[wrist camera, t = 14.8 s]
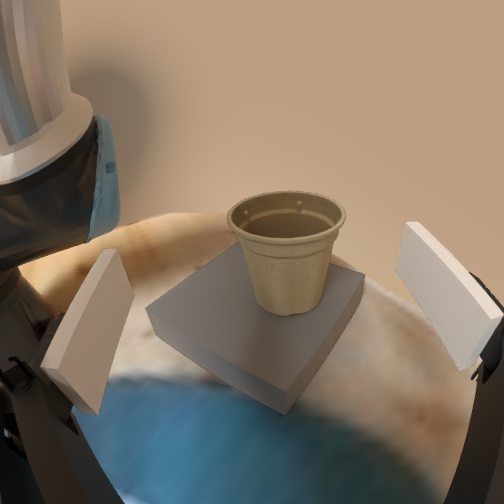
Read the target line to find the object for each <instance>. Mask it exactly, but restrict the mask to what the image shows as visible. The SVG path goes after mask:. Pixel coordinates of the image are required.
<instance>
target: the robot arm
mask: <svg viewBox="0 0 504 504" xmlns="http://www.w3.org/2000/svg"><path fill="white" fill-rule="evenodd" d="M63 44H64V43H63V34H62V23H61V11H60V0H0V504H125V503H124V502H123V500H122V499H121V498H120V496H119V495H118V493H117V492H116V490H115V489H114V487H113V486H112V484H111V482H110V481H109V479H108V478H107V476H106V474H105V473H104V471H103V469H102V468H101V466H100V464H99V463H98V461H97V459H96V457H95V455H94V454H93V452H92V450H91V448H90V446H89V444H88V442H87V440H86V439H85V437H84V435H83V433H82V430H81V428H80V426H79V424H78V422H77V420H76V418H75V416H74V415H73V413H72V412H71V410H72V406H73V405H74V406H75V407H76V408H77V409H78V410H79V411H80V412H81V413H87V414H93V415H98V413H99V409H100V405H101V401H102V398H103V394H104V390H105V386H106V383H107V379H108V376H109V372H110V369H111V365H112V362H113V359H114V355H115V352H116V349H117V346H118V343H119V340H120V337H121V333H122V330H123V327H124V324H125V322H126V319H127V316H128V313H129V310H130V307H131V304H132V302H133V299H134V293H133V290H132V288H131V285H130V282H129V280H128V277H127V274H126V271H125V268H124V266H123V263H122V260H121V257H120V254H119V251H118V248H113V249H104V250H103V251H102V252H101V254H100V255H99V257H98V259H97V260H96V262H95V263H94V265H93V267H92V268H91V270H90V272H89V273H88V275H87V277H86V278H85V280H84V282H83V283H82V285H81V287H80V289H79V290H78V292H77V294H76V296H75V297H74V299H73V301H72V303H71V305H70V306H69V308H68V310H67V312H66V313H61V314H60V315H59V316H58V317H57V315H56V313H55V311H54V309H53V308H52V306H51V305H50V303H49V302H48V301H47V300H46V299H45V298H44V297H43V296H42V295H41V294H40V293H39V292H38V291H37V290H36V289H35V288H34V287H33V286H32V285H31V284H30V283H29V282H28V281H27V280H26V279H25V278H24V277H23V276H22V274H21V272H20V270H19V268H18V266H20V265H23V264H25V263H28V262H31V261H34V260H36V259H39V258H42V257H45V256H48V255H51V254H53V253H56V252H59V251H62V250H65V249H68V248H71V247H74V246H77V245H80V244H83V243H85V244H86V243H88V242H90V241H91V239H94V238H96V237H99V236H101V235H104V234H106V233H109V232H111V231H112V230H114V229H115V227H116V226H117V225H118V222H119V220H120V195H119V183H118V175H117V169H116V160H115V146H114V138H113V131H112V125H111V121H110V119H109V117H107V116H98V115H96V116H95V117H94V116H93V110H92V106H91V104H90V103H89V101H88V100H87V99H86V98H84V97H82V96H80V95H77V94H75V93H72V92H71V89H70V83H69V78H68V72H67V65H66V59H65V51H64V45H63ZM395 271H396V273H397V274H398V275H399V277H400V278H401V280H402V281H403V283H404V284H405V285H406V287H407V288H408V290H409V291H410V293H411V294H412V296H413V297H414V298H415V300H416V301H417V303H418V304H419V306H420V308H421V309H422V311H423V312H424V314H425V315H426V317H427V318H428V320H429V321H430V323H431V325H432V326H433V328H434V329H435V331H436V333H437V334H438V336H439V337H440V339H441V341H442V342H443V344H444V346H445V347H446V349H447V351H448V353H449V354H450V356H451V358H452V359H453V361H454V363H455V365H456V367H457V368H458V370H459V371H461V370H464V369H466V368H469V367H471V366H473V364H474V363H475V361H476V360H477V359H478V357H479V356H480V357H481V359H482V360H483V361H482V362H481V364H480V365H479V367H478V368H477V370H476V371H475V372H474V374H473V375H472V377H471V380H473V379H474V378H475V377H476V375H477V374H478V378H477V380H476V381H477V387H476V393H475V399H474V404H473V409H472V414H471V419H470V423H469V427H468V432H467V436H466V439H465V443H464V447H463V450H462V454H461V457H460V460H459V463H458V466H457V469H456V472H455V475H454V478H453V481H452V483H451V486H450V489H449V491H448V494H447V496H446V499H445V501H444V503H443V504H504V307H503V306H502V305H501V304H500V302H499V301H498V300H497V299H496V298H495V296H494V295H493V294H491V292H490V291H489V289H488V288H486V287H485V285H484V284H483V282H482V281H481V280H480V279H479V278H478V277H476V276H475V275H473V274H472V273H470V272H468V271H467V270H466V269H465V268H464V267H463V266H462V265H461V264H460V263H459V262H458V261H457V260H456V259H455V257H454V256H453V255H452V254H451V253H450V252H449V251H448V250H447V249H446V248H445V247H444V246H443V245H442V244H441V243H440V242H439V241H438V240H437V239H435V237H434V236H433V235H432V234H430V233H429V232H428V231H427V230H426V229H425V228H424V227H423V226H422V225H421V224H420V223H419V222H405V226H404V232H403V237H402V242H401V246H400V251H399V256H398V260H397V264H396V268H395ZM4 429H5V430H7V431H8V437H6V436H5V435H4Z"/></svg>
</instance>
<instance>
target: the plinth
mask: <svg viewBox="0 0 504 504" xmlns="http://www.w3.org/2000/svg"><path fill="white" fill-rule="evenodd" d="M364 278H365V274H363V273H360V272H356V271H353V270H350V269H347V268H343V267H340V266H337V265H333V264H330V263H329V265H328V269H327V274H326V278H325V282H324V286H323V291H322V296H321V299H320V301H319V303H318V304H317V305H316V306H315V307H314V308H313V309H312V310H310V311H308V312H306V313H304V314H301V313H299V314H291V315H289V316H280V315H276V314H272V313H270V312H268V311H266V310H264V309H263V308H262V307H261V306H260V305H259V304H258V302H257V300H256V297H255V293H254V289H253V285H252V281H251V278H250V274H249V270H248V267H247V263H246V260H245V256H244V253H243V249H242V246H241V244H240V243H239V242H238V243H236V244H235V245H233V246H232V247H230V248H229V249H228V250H226V251H225V252H223V253H222V254H220V255H219V256H218V257H216V258H215V259H213V260H212V261H210V262H209V263H208V264H206V265H205V266H203V267H202V268H201V269H199V270H198V271H196V272H195V273H193V274H192V275H191V276H189V277H188V278H186V279H185V280H184V281H182V282H181V283H179V284H178V285H177V286H175V287H174V288H172V289H171V290H170V291H168V292H167V293H165V294H164V295H163V296H161V297H160V298H158V299H157V300H156V301H154V302H153V303H151V304H150V305H149V306H147V307H146V308H145V309H146V311H147V314H148V316H149V319H150V321H151V324H152V326H153V329H154V331H155V334H156V336H158V337H159V338H160V339H162V340H163V341H164V342H166V343H167V344H169V345H170V346H171V347H173V348H174V349H176V350H177V351H179V352H180V353H181V354H183V355H184V356H186V357H187V358H189V359H190V360H192V361H193V362H195V363H196V364H198V365H199V366H201V367H202V368H204V369H205V370H207V371H209V372H210V373H212V374H213V375H215V376H216V377H218V378H220V379H221V380H223V381H224V382H226V383H228V384H229V385H231V386H233V387H234V388H236V389H238V390H239V391H241V392H243V393H245V394H246V395H248V396H250V397H251V398H253V399H255V400H257V401H259V402H260V403H262V404H264V405H266V406H268V407H269V408H271V409H273V410H275V411H277V412H279V413H281V414H283V415H286V414H287V413H288V411H289V410H290V409H291V407H292V406H293V405H294V403H295V402H296V401H297V399H298V398H299V396H300V395H301V394H302V392H303V391H304V390H305V388H306V387H307V385H308V384H309V383H310V381H311V380H312V378H313V377H314V375H315V374H316V372H317V371H318V369H319V368H320V367H321V365H322V364H323V362H324V361H325V359H326V357H327V356H328V354H329V353H330V351H331V350H332V348H333V347H334V345H335V344H336V342H337V340H338V339H339V337H340V336H341V334H342V332H343V331H344V329H345V327H346V326H347V324H348V322H349V321H350V319H351V317H352V316H353V314H354V312H355V311H356V309H357V307H358V305H359V304H360V300H361V295H362V289H363V284H364Z"/></svg>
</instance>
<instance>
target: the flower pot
mask: <svg viewBox="0 0 504 504" xmlns="http://www.w3.org/2000/svg"><path fill="white" fill-rule="evenodd" d="M345 218H346V214H345V210H344V208H343V207H342V206H341V205H340V204H339V203H338V202H336V201H335V200H333V199H331V198H329V197H326V196H323V195H319V194H315V193H310V192H302V191H277V192H269V193H263V194H259V195H255V196H252V197H249V198H246V199H244V200H242V201H240V202H239V203H237V204H236V205H235V206H233V207H232V208H231V209H230V210H229V212H228V215H227V221H228V224H229V226H230V228H231V229H232V230H233V231H235V234H236V238H237V240H238V241H239V243H240V244H241V246H242V249H243V253H244V256H245V260H246V263H247V267H248V270H249V274H250V278H251V281H252V285H253V289H254V293H255V297H256V300H257V302H258V304H259V305H260V306H261V307H262V308H263V309H264V310H266V311H268V312H270V313H272V314H276V315H280V316H289V315H291V314H299V313H301V314H304V313H306V312H308V311H310V310H312V309H313V308H314V307H315V306H316V305H317V304H318V303H319V301H320V299H321V296H322V291H323V286H324V282H325V278H326V274H327V269H328V265H329V261H330V256H331V252H332V247H333V243H334V241H335V240H336V238H337V236H338V232H339V229H340V228H341V226H342V225H343V224H344V221H345Z"/></svg>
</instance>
